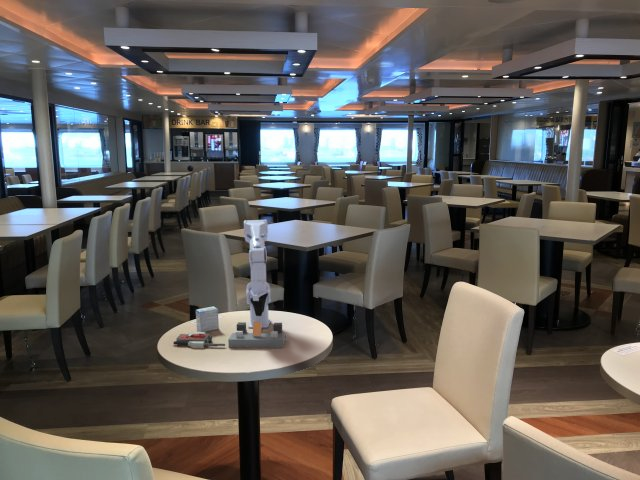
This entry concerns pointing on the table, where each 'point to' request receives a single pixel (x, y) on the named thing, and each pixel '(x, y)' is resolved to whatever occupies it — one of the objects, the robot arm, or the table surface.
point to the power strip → (257, 340)
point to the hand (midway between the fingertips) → (259, 313)
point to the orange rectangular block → (257, 328)
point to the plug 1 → (241, 327)
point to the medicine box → (207, 319)
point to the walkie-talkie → (195, 340)
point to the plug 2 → (277, 327)
